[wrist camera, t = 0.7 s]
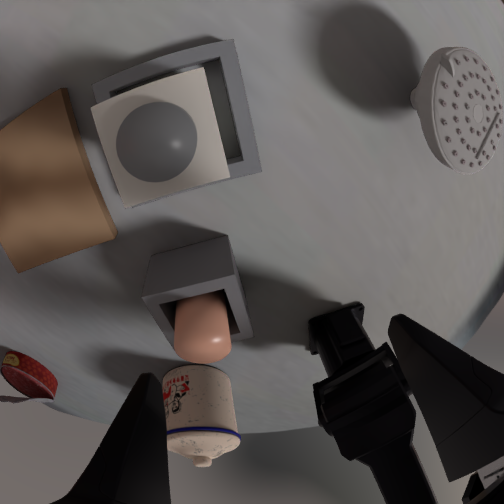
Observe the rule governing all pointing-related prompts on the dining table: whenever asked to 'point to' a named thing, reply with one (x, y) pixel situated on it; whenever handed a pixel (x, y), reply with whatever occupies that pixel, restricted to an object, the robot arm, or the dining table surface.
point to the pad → (48, 187)
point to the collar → (234, 89)
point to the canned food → (28, 378)
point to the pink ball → (202, 328)
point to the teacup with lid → (199, 413)
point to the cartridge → (161, 137)
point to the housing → (196, 284)
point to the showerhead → (459, 109)
